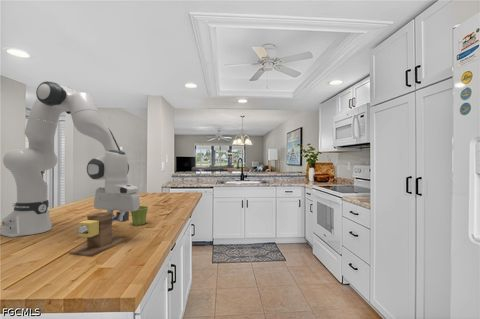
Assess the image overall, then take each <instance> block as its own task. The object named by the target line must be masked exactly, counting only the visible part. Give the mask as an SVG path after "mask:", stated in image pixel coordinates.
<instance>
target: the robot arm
mask: <svg viewBox="0 0 480 319" xmlns="http://www.w3.org/2000/svg"><path fill="white" fill-rule="evenodd" d="M35 96H36V99H35V101H34V102H33V105H32V106H31V109H30V112H29V114H28V119H27V122H26V126H25V128H24V135H25V137H26V138H27V141H28V147H19V148H14V149H11V150H8V151H7V152H6V153H5V154H4V156H3V157H2V163H3V165H4V167H5V168H6V169H7V170H9V171H10V173H11V174H12V176H13V178H14V181H15V185H16V202H15V203H14V204H12V207H13V211H11V212H10V213H9V214H8V215H6V216H5V217H3V219H1V223H0V224H1V225H0V226H1V227H0V236H5V237H7V238H14V237H21V236H29V235H37V234H40V233H41V234H43V233H45V232H49V231H50V230H52V227H53V223H51V214H50V210H49V207H50V206H49V204H50V203H49V199H48V183H47V182H46V181H45V180H44V178H43V176H42V174H41V173H42V172H45V171H48V170H51V169H53V168H55V166H57V164H58V156H57V155H56V153H55V146H54V145H55V144H54V143H55V135H56V133H57V128H58V125H59V124H58V123H59V119H60V116H61V114H63V113H66V114H67V115H70V116H71V119H72V123H73V125H74V128H75V129H76V131H78V132H79V133H80V134H82V135H84V136H87V137H90V138H92V139H93V140H96V141H98V142H99V143H101V145H102V147H103V148H104V150H105V153H104V154H102V155H100V156H98V157H94V158H91V159H90V160H89V161H88V163H87V165H86V174H87V175H88V176H89V178H91V179H92V180H96V181H101V180H103V181H104V187H98V188H96V189H95V195H94V200H93V208H94V209H95V210H106V211H107V212H106V213H112V217H113V216H115V214H114V211H118V212H119V213H120V215H119V216H118V217H117V221H116V222H120V221H122V220H123V216H124V214H125V211H129V212H131V211H136V210H138V209H139V207H140V206H141V205H140V202H141V201H140V200H141V199H140V194H139V193H138V192H139V187H138V186H135V185H133V184H131V183H129V179H128V173H129V171H130V165H129V162H128V161H129V160H128V155H127V153H126V152H125V151H122V150H121V149H120V147H119V144H118V142H117V140H116V138H115V136H114V135H113V132H112V130H110V128H109V127H108V126H107V125H106V124H105V122H104V121H103V119H102V117H101V115H100V112H99V109H98V106H97V104H96V102H95V100H94V99H93V98H94V97H92V95H91V94H89V93H88V92H84V91H77V90H75V89H73V88H71V87H69V86H65V85H61V84H58V83H56V82H53V81H43V82H41V83H40V84H38V86H37V88H36V92H35Z"/></svg>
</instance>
